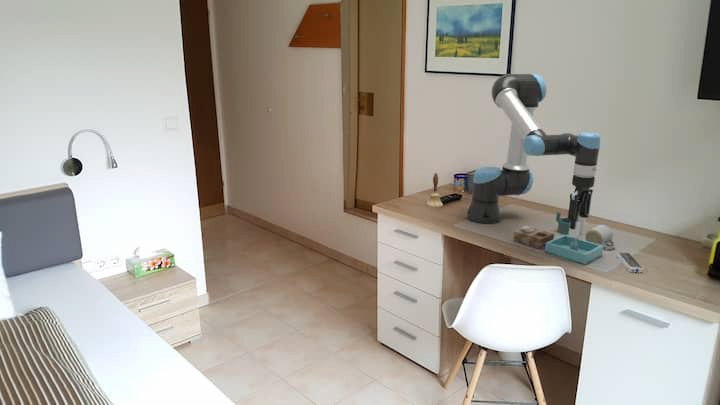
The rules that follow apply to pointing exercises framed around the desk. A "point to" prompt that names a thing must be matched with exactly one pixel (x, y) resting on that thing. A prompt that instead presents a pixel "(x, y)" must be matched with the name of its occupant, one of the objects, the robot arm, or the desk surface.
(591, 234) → the ceramic mug
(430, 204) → the hand bell
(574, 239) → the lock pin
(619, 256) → the multiport hub
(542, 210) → the desk surface
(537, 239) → the brown wooden block
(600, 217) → the desk surface
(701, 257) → the desk surface
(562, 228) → the bracket
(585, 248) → the tray
